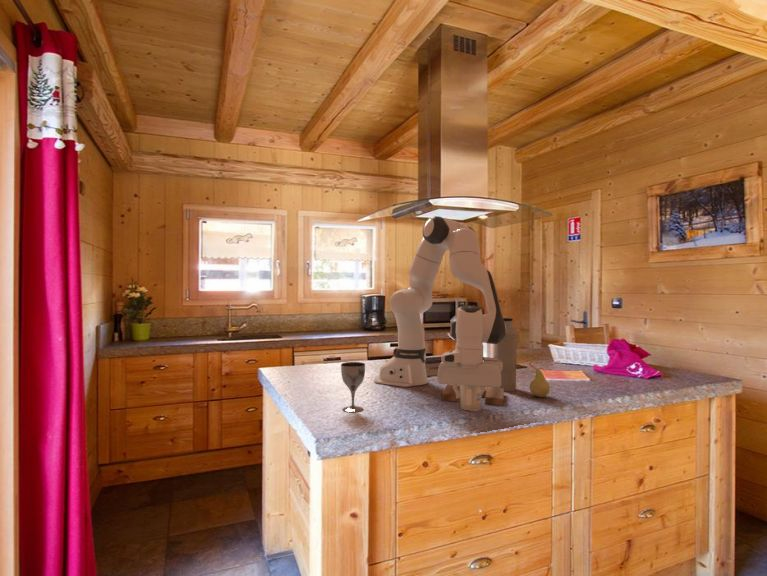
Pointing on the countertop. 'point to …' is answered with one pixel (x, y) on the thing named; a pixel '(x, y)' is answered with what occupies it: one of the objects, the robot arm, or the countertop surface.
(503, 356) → the thermos bottle
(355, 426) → the countertop surface
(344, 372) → the wine glass
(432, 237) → the robot arm
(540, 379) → the fruit
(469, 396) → the beige ceramic cup
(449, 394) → the brown wooden board
